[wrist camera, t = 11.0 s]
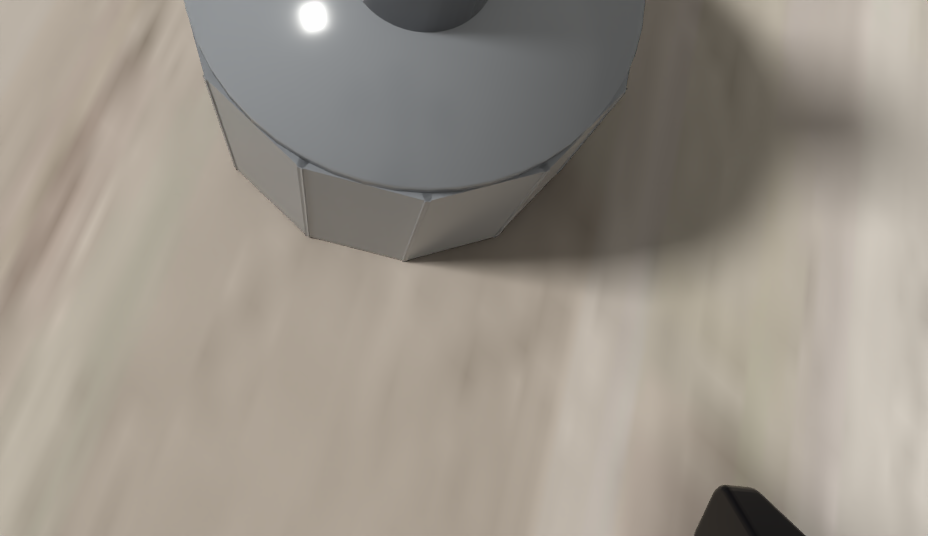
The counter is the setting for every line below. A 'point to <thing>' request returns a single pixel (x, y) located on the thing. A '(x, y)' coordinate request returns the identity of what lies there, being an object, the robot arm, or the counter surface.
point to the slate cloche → (410, 107)
